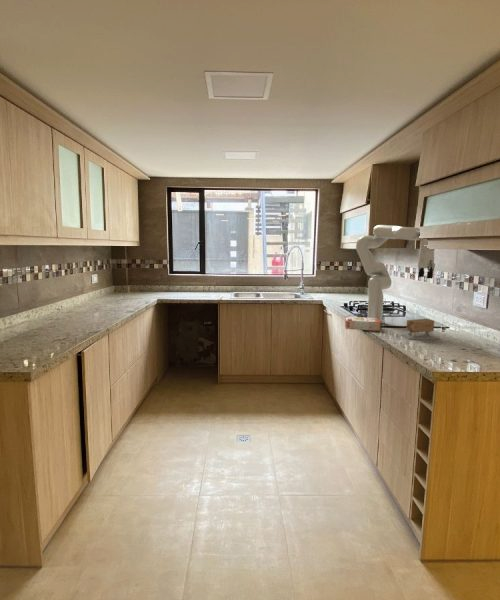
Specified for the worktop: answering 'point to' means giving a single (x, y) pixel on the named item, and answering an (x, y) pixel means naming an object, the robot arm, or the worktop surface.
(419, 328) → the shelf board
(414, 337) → the peg stand
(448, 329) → the worktop surface
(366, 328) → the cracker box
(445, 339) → the worktop surface
